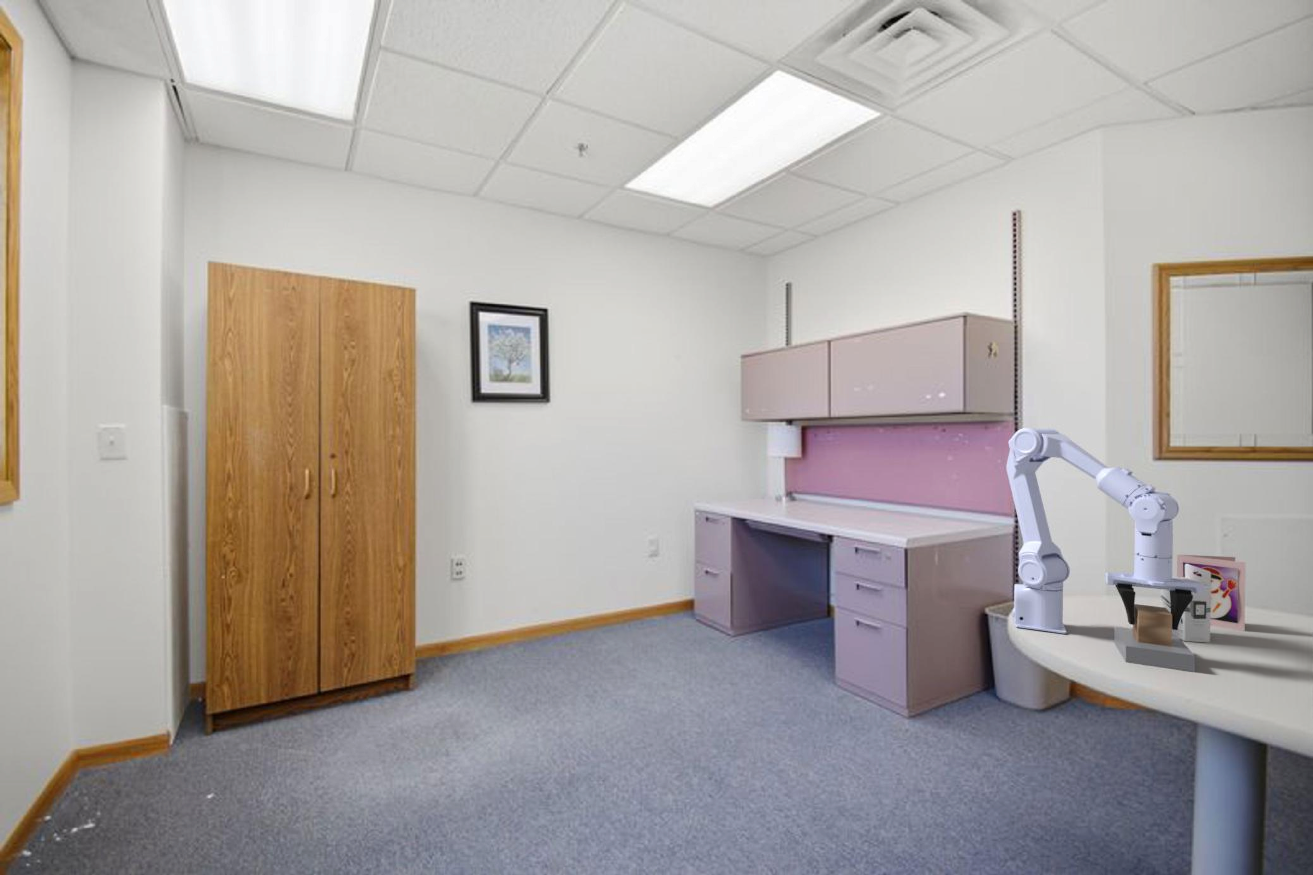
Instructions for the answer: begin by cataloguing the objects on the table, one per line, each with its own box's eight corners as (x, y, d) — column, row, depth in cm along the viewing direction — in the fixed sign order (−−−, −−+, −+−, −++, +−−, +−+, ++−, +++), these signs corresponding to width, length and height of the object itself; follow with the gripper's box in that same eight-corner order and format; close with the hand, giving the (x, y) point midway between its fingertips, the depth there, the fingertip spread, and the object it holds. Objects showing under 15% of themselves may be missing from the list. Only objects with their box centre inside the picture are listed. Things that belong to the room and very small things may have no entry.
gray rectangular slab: (1125, 661, 115) (1125, 645, 115) (1114, 642, 125) (1114, 628, 125) (1194, 672, 110) (1195, 655, 110) (1176, 651, 120) (1176, 636, 120)
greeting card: (1175, 619, 141) (1176, 555, 141) (1180, 613, 146) (1181, 551, 146) (1244, 632, 133) (1245, 563, 132) (1247, 624, 138) (1247, 558, 137)
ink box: (1158, 628, 135) (1159, 561, 134) (1184, 630, 134) (1185, 562, 133) (1183, 641, 126) (1184, 570, 126) (1211, 643, 125) (1212, 571, 125)
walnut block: (1138, 642, 117) (1138, 611, 116) (1132, 633, 121) (1133, 603, 121) (1171, 646, 114) (1172, 615, 114) (1165, 638, 119) (1165, 607, 118)
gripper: (1110, 555, 117) (1109, 625, 117) (1209, 563, 110) (1208, 638, 110) (1104, 549, 123) (1103, 616, 124) (1197, 556, 117) (1196, 627, 117)
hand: (1152, 625), depth 117 cm, fingers open, 6 cm apart
